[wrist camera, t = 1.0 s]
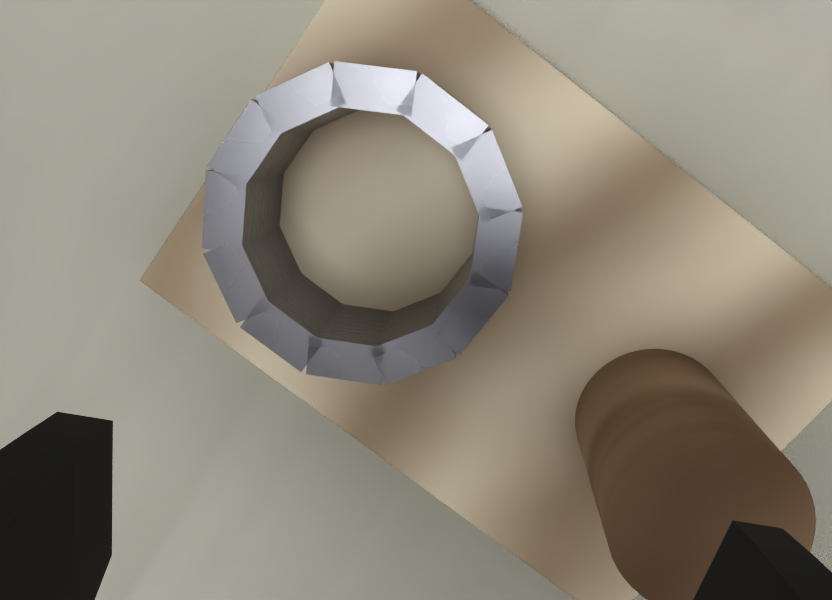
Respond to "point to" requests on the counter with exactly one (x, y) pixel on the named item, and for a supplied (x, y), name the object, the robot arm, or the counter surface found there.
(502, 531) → the board
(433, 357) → the sleeve
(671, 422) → the plug
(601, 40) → the counter surface
